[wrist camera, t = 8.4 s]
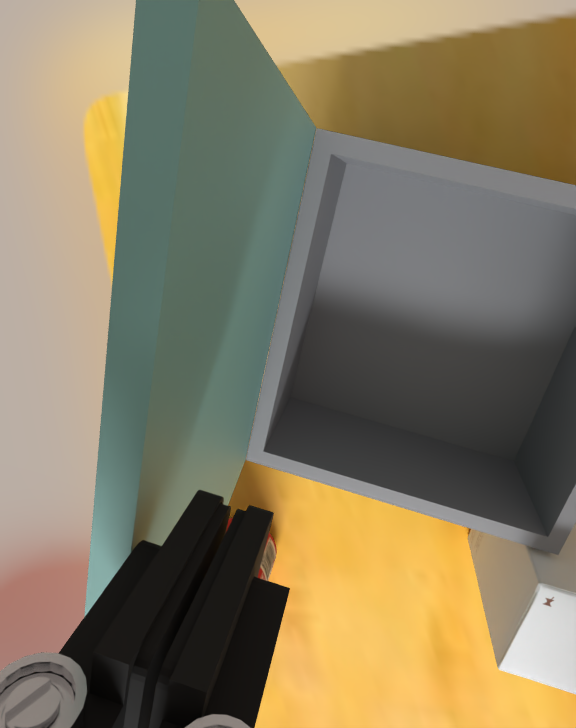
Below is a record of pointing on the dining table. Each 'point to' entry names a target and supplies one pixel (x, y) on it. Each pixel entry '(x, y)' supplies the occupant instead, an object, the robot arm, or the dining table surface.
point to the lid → (192, 268)
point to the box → (429, 340)
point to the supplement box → (529, 607)
